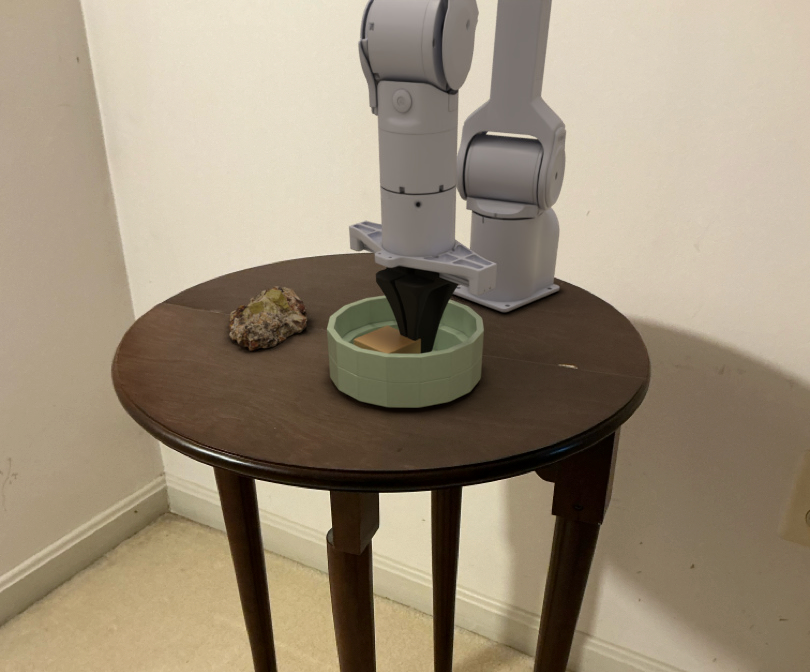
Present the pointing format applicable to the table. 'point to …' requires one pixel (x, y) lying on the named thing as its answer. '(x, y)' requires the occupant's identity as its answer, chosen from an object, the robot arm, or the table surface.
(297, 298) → the mineral rock
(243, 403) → the table surface
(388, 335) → the block
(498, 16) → the robot arm
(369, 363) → the bowl
